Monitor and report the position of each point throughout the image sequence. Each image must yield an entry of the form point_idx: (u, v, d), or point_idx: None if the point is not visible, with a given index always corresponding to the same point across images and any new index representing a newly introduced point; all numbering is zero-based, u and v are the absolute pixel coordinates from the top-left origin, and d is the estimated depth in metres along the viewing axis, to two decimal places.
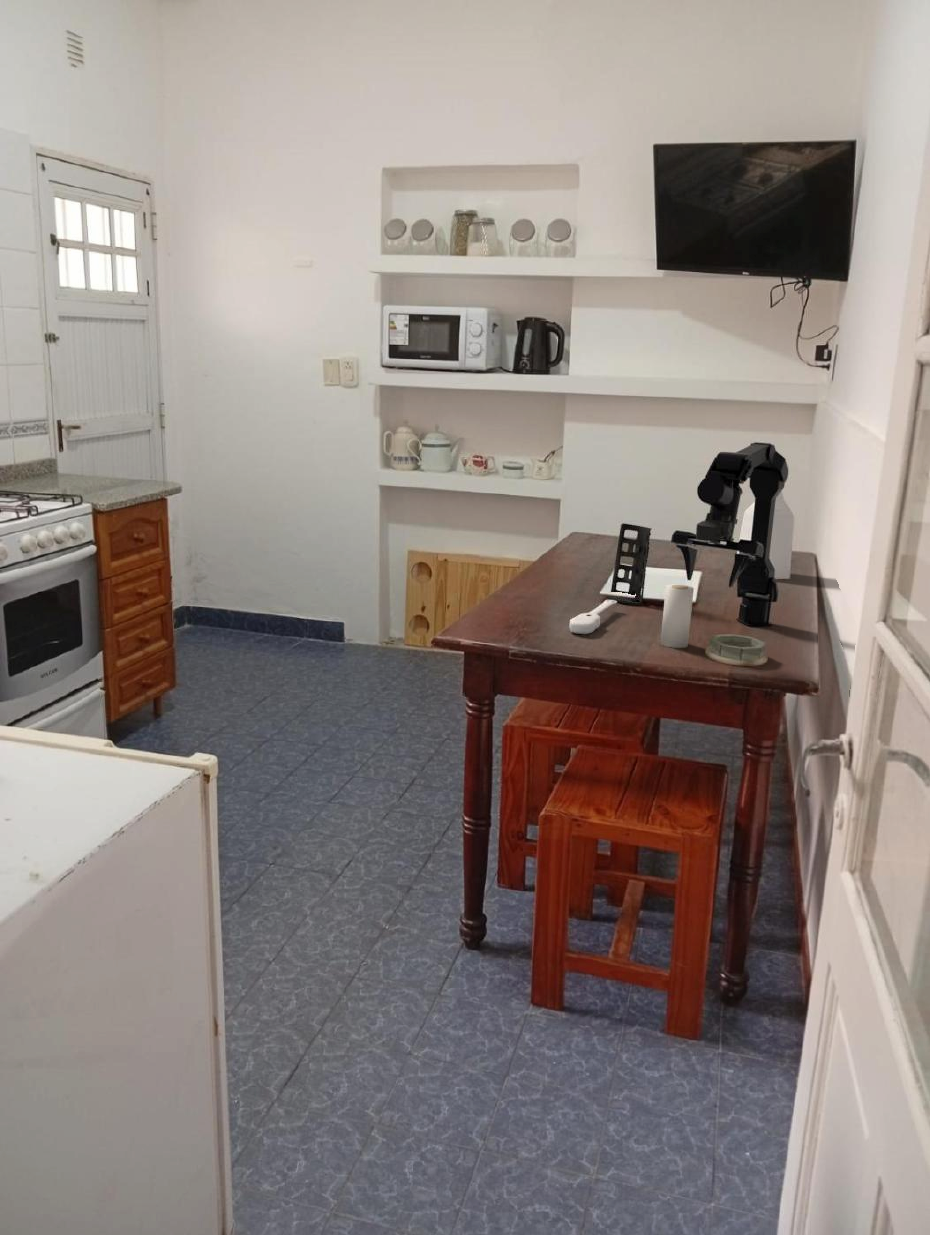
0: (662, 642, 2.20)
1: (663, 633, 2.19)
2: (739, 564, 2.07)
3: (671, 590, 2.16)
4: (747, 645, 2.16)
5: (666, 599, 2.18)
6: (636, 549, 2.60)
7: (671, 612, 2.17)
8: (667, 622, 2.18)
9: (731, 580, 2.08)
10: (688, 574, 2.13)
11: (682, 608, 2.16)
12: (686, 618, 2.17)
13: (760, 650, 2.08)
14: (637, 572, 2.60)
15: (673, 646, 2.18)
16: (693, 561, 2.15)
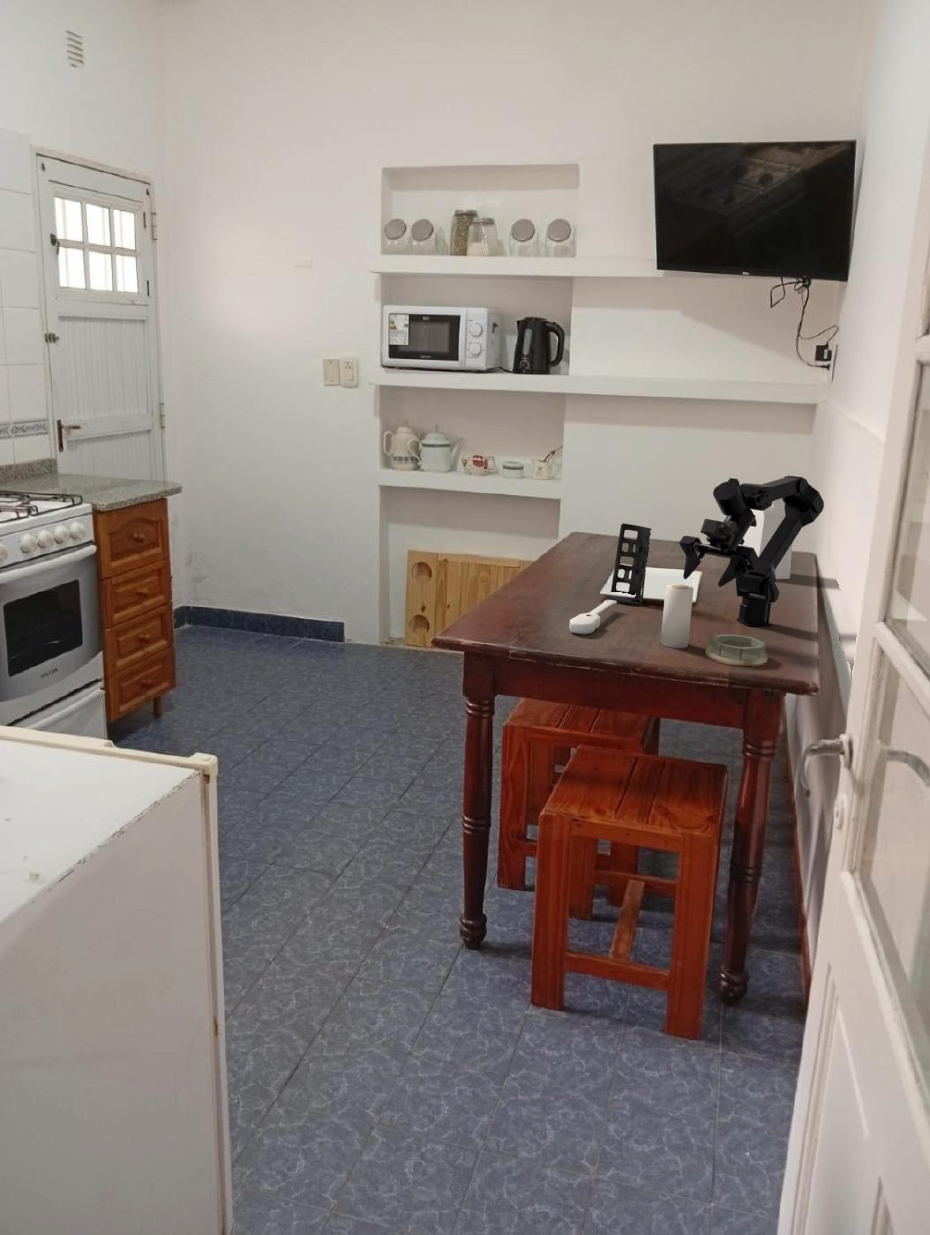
0: (662, 642, 2.20)
1: (663, 633, 2.19)
2: (733, 565, 2.19)
3: (671, 590, 2.16)
4: (747, 645, 2.16)
5: (666, 599, 2.18)
6: (636, 549, 2.60)
7: (671, 612, 2.17)
8: (667, 622, 2.18)
9: (721, 579, 2.20)
10: (685, 572, 2.26)
11: (682, 608, 2.16)
12: (686, 618, 2.17)
13: (760, 650, 2.08)
14: (637, 572, 2.60)
15: (673, 646, 2.18)
16: (694, 566, 2.28)
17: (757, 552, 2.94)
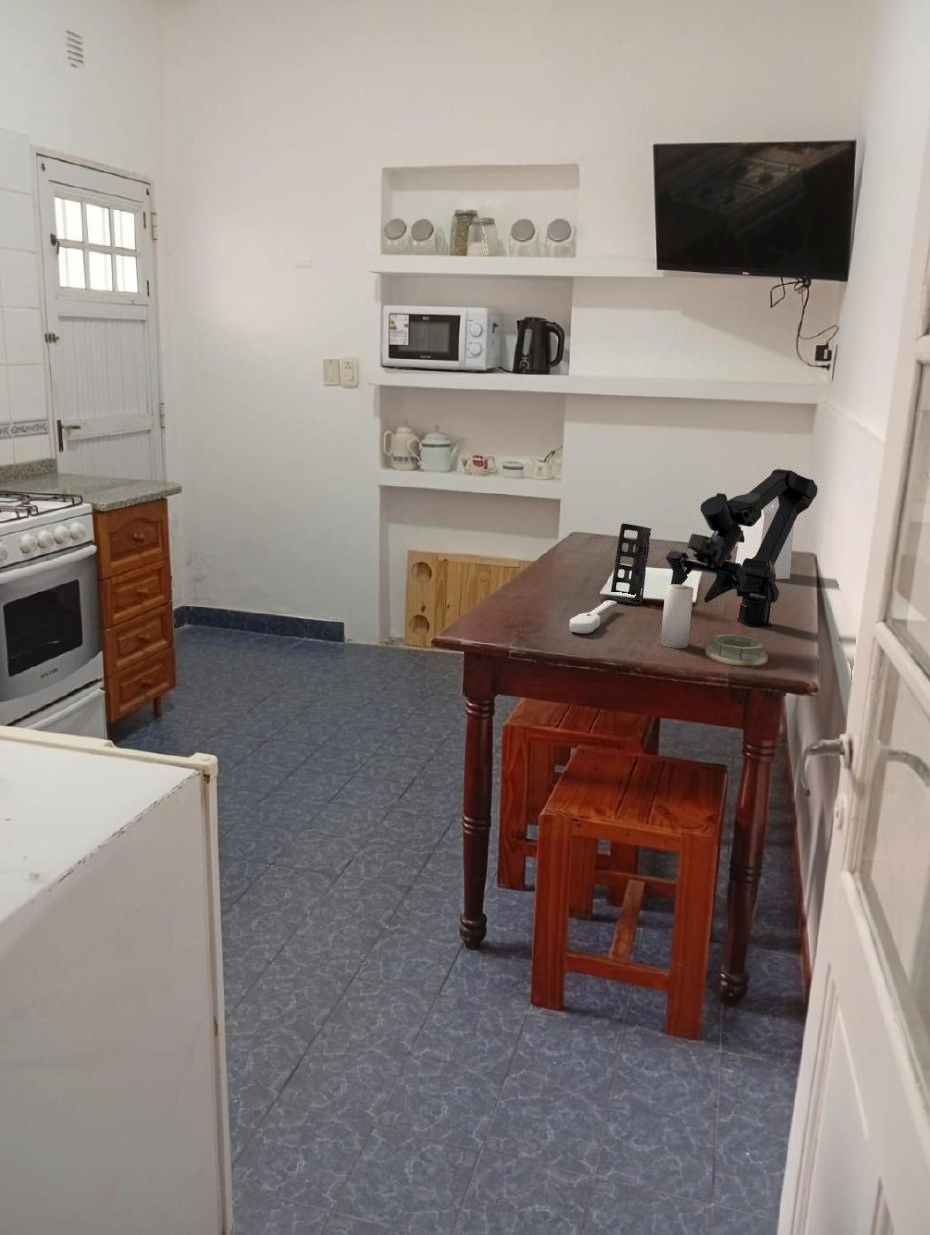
0: (662, 642, 2.20)
1: (663, 633, 2.19)
2: (719, 581, 2.17)
3: (671, 590, 2.16)
4: (747, 645, 2.16)
5: (666, 599, 2.18)
6: (636, 549, 2.60)
7: (671, 612, 2.17)
8: (667, 622, 2.18)
9: (707, 594, 2.17)
10: None
11: (682, 608, 2.16)
12: (686, 618, 2.17)
13: (760, 650, 2.08)
14: (637, 572, 2.60)
15: (673, 646, 2.18)
16: (680, 581, 2.26)
17: None
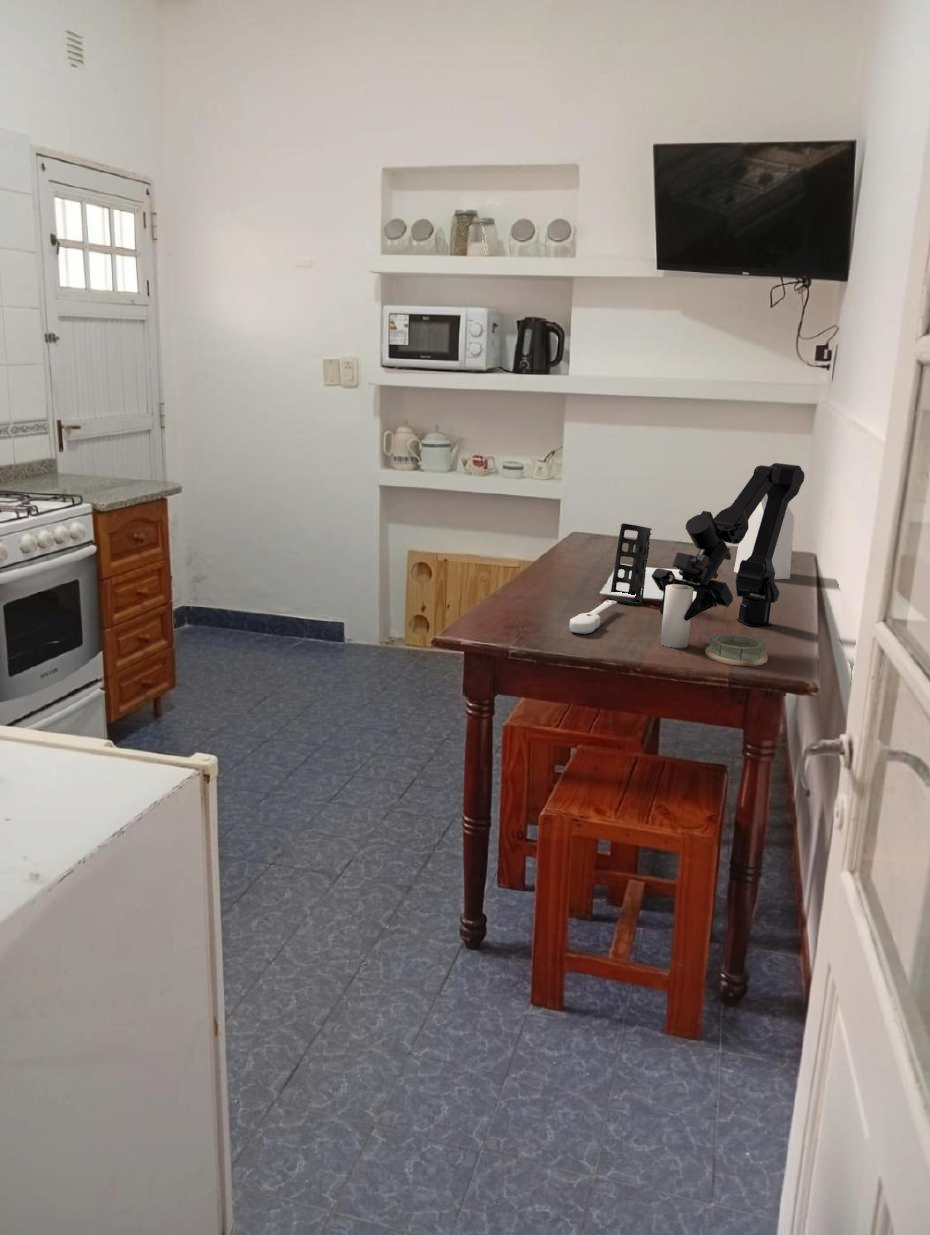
0: (662, 642, 2.20)
1: (663, 633, 2.19)
2: (699, 599, 2.16)
3: (671, 590, 2.16)
4: (747, 645, 2.16)
5: (666, 599, 2.18)
6: (636, 549, 2.60)
7: (671, 612, 2.17)
8: (667, 622, 2.18)
9: (687, 613, 2.16)
10: (662, 607, 2.21)
11: (682, 608, 2.16)
12: None
13: (760, 650, 2.08)
14: (637, 572, 2.60)
15: (673, 646, 2.18)
16: None
17: None
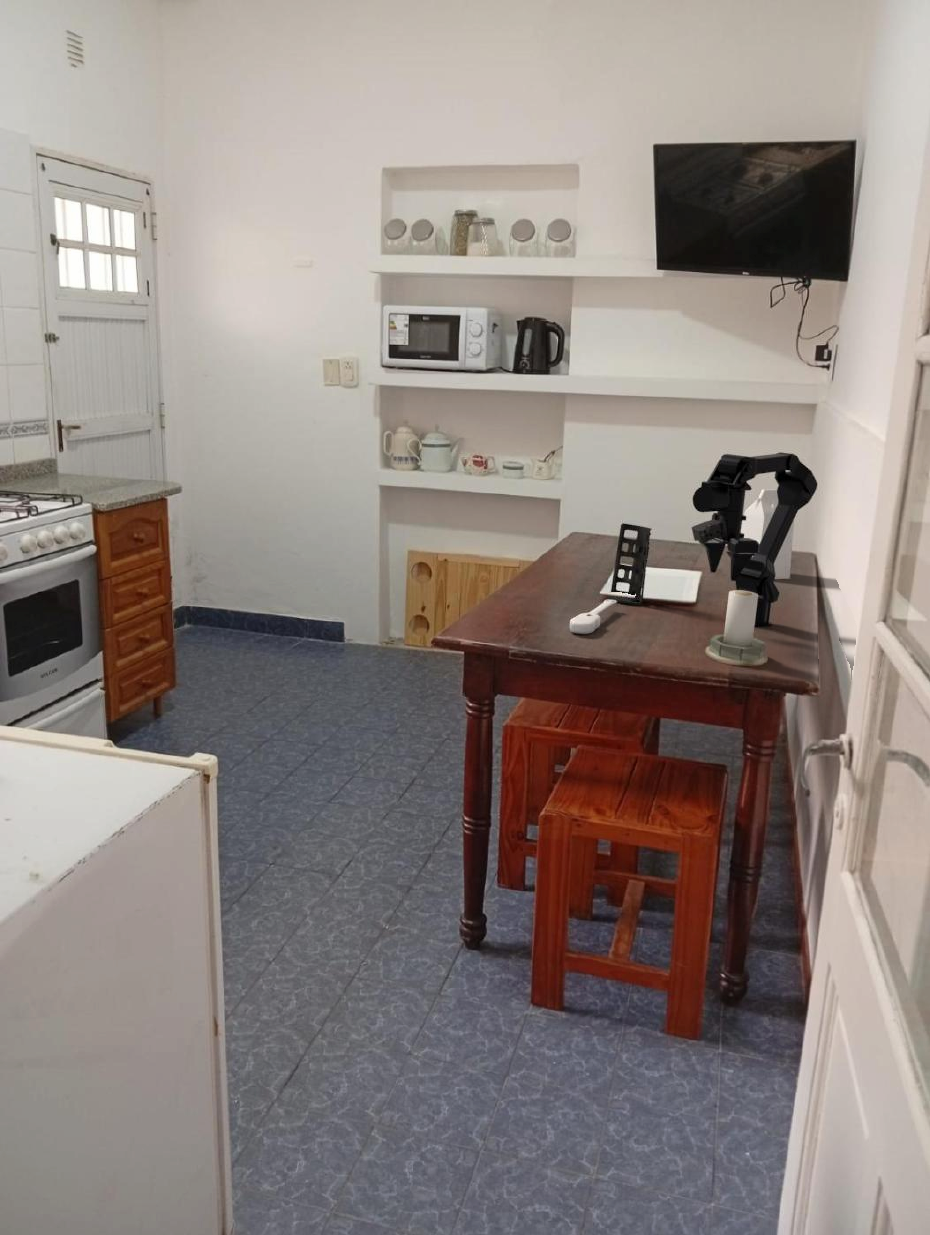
0: None
1: (730, 642, 2.10)
2: (733, 561, 2.24)
3: (741, 597, 2.07)
4: None
5: (734, 607, 2.09)
6: (636, 549, 2.60)
7: (741, 620, 2.08)
8: (736, 631, 2.09)
9: (731, 574, 2.27)
10: (710, 567, 2.35)
11: (752, 615, 2.08)
12: (753, 625, 2.10)
13: (760, 650, 2.08)
14: (637, 572, 2.60)
15: None
16: (718, 554, 2.35)
17: None
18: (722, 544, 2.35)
